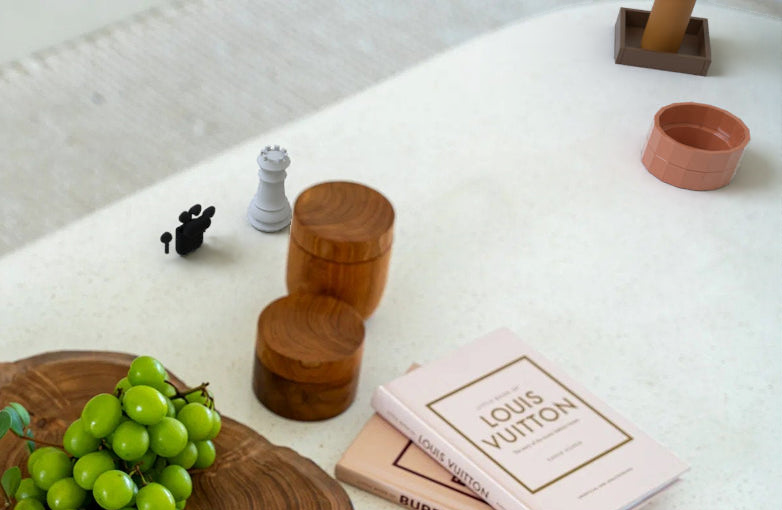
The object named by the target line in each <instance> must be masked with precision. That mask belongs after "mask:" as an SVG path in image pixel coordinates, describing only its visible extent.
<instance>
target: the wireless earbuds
mask: <svg viewBox="0 0 782 510" xmlns="http://www.w3.org/2000/svg"><path fill="white" fill-rule="evenodd" d="M202 209H203V208H202V204H201V203H196V204H194V205H192V206H191V207H189V209H188V210H183V211H182V212H180V214H179V215H178V222H180V223H181V225H180V224H179V226H177V227H176V228H175V236H174V237H175V238H174V239H175V240H174V241H175V242H174V243H175V245H174V250H175V252H176V253H177V254H178V255H179V256H182V257H183V256H184V257H185V256H188V255H189V254H191V253H193V252H194V251H196V250H197V249H199V248H201V247H202V246H203V243H204V234H205V233H206V231H207V230H208V229H209V228H210V227H211V225H212V219H211V218H214V216H215V214H216V207H215V206H214V205H209V206H208V207H206V208H204V210H203V211H202ZM201 212H202V214H201ZM200 214H201V215H200ZM193 216H194V218H193ZM159 240H160V243H161V244H164V254H165V255H169V254H170V243H171V242H172V241H173V235H172V233H171V232H170V231H165V232H163V233H162V234H161V235H160V238H159Z"/></svg>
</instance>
